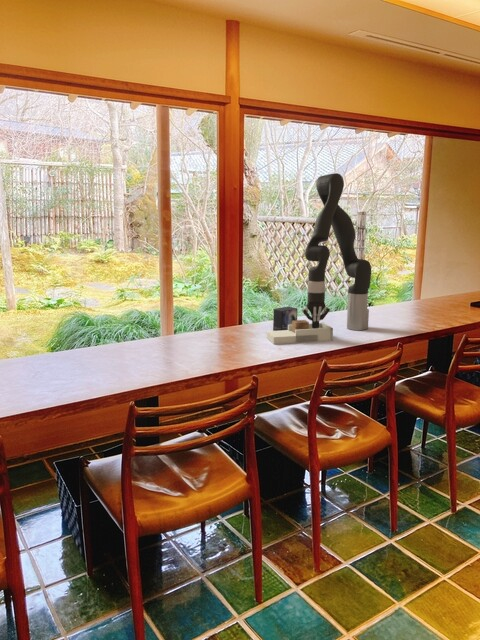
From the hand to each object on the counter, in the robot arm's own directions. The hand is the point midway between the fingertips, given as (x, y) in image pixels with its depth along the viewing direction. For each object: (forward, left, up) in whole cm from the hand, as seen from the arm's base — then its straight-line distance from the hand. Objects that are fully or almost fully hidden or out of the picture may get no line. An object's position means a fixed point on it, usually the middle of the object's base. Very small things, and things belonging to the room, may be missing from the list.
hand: (315, 329), depth 239 cm
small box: (+8, -19, -4) cm, 21 cm away
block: (+7, 0, -1) cm, 7 cm away
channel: (+7, 0, -4) cm, 9 cm away
